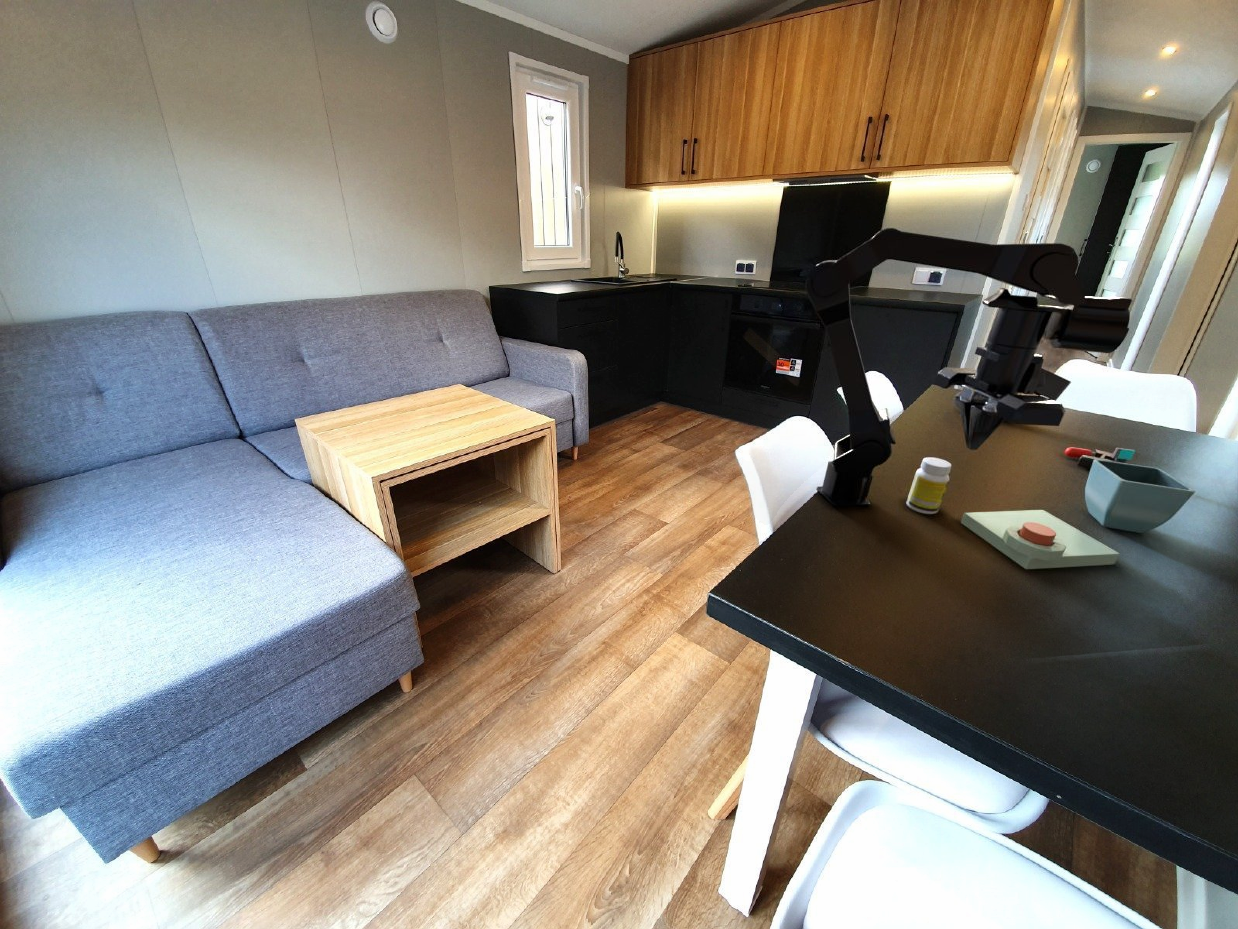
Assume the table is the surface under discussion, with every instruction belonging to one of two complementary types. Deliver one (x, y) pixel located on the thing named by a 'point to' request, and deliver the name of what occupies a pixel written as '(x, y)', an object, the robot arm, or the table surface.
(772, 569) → the table surface
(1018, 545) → the kitchen scale
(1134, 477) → the flower pot
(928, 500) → the supplement bottle
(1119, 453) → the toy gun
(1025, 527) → the button
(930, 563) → the table surface
